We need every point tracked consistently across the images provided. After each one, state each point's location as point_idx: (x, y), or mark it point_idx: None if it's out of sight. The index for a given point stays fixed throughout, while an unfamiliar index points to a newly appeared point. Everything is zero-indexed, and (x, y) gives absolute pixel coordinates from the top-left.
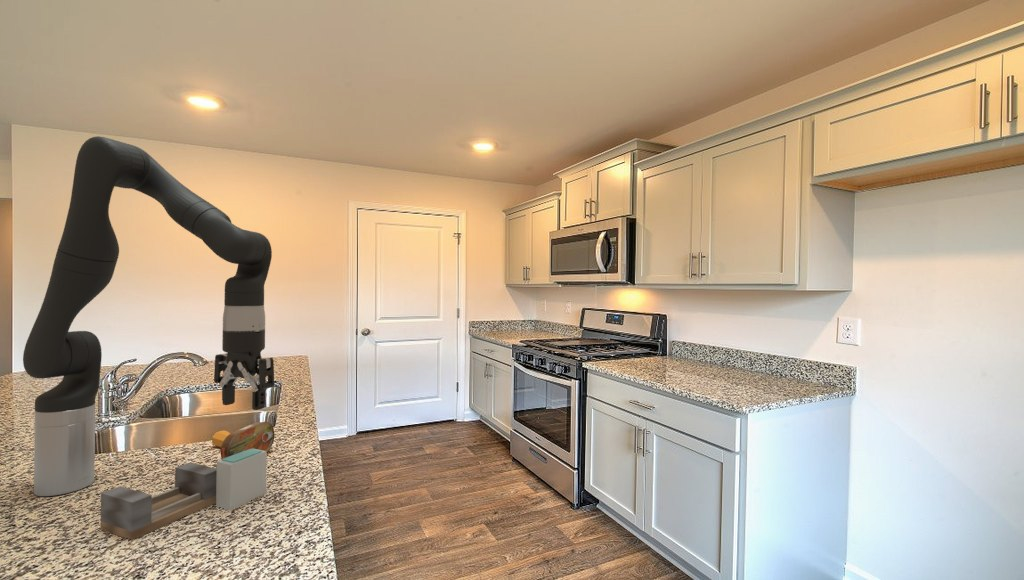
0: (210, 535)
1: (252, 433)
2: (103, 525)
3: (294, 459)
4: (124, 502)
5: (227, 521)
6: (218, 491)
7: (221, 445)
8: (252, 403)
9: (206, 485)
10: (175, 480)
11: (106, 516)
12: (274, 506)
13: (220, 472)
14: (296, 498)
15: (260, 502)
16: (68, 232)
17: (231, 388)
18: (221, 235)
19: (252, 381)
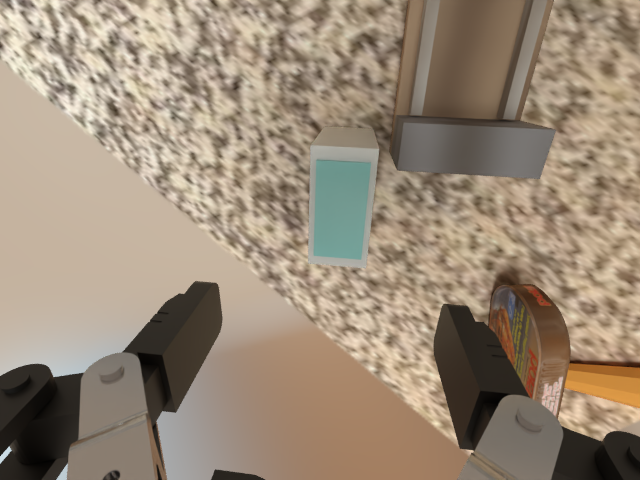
0: (261, 18)
1: (524, 386)
2: None
3: (401, 356)
4: None
5: (285, 84)
6: (366, 133)
7: (637, 369)
8: (197, 299)
9: (399, 123)
10: (532, 124)
11: None
12: (253, 176)
13: (360, 142)
14: (243, 219)
15: (296, 180)
16: None
17: (463, 415)
18: None
19: (99, 429)
